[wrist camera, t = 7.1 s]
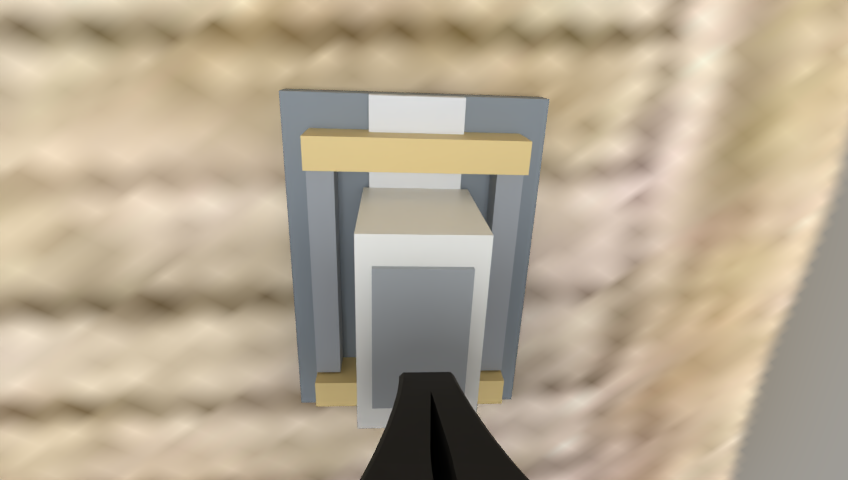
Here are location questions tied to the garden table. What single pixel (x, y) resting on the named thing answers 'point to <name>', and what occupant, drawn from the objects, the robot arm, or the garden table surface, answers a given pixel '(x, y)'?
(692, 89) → the garden table surface
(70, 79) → the garden table surface
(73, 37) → the garden table surface
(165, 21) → the garden table surface
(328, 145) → the rail base
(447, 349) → the block
